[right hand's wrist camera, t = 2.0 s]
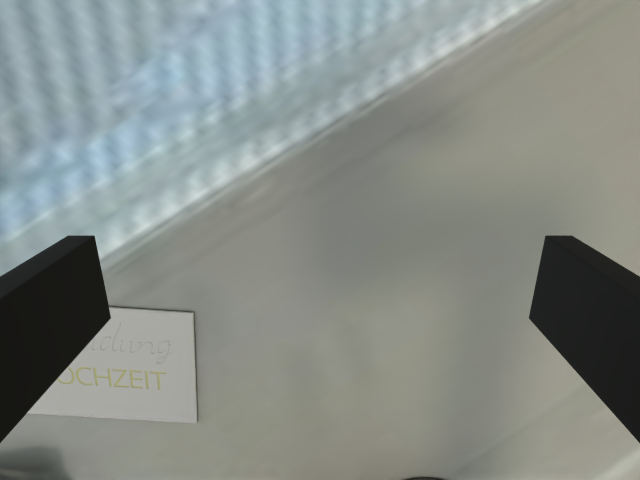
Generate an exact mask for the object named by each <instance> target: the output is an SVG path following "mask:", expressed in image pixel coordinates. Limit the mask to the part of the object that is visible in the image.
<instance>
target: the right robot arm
mask: <svg viewBox="0 0 640 480" xmlns="http://www.w3.org/2000/svg"><path fill="white" fill-rule="evenodd" d="M110 319H111V315H110V310H109V305H108V300H107V295H106V291H105V286H104V281H103V276H102V271H101V266H100V261H99V256H98V251H97V246H96V241H95V236H67V237H65V238H63V239H62V240H60V241H59V242H57V243H55V244H54V245H52V246H50V247H49V248H47V249H45V250H44V251H42V252H40V253H39V254H37V255H35V256H34V257H32V258H30V259H29V260H27V261H26V262H24V263H22V264H21V265H19V266H17V267H16V268H14V269H12V270H11V271H9V272H7V273H6V274H4V275H2V276H1V277H0V443H1V442H2V440H3V439H4V438H5V437H6V436H7V435H8V434H9V433H10V431H11V430H12V429H13V428H14V427H15V426H16V425H17V424H18V422H19V421H20V420H21V419H22V418H23V417H24V416H25V415H26V413H27V412H28V411H29V410H30V409H31V408H32V407H33V405H34V404H35V403H36V402H37V401H38V400H39V399H40V398H41V396H42V395H43V394H44V393H45V392H46V391H47V390H48V389H49V387H50V386H51V385H52V384H53V383H54V382H55V381H56V380H57V378H58V377H59V376H60V375H61V374H62V373H63V372H64V371H65V369H66V368H67V367H68V366H69V365H70V364H71V363H72V362H73V360H74V359H75V358H76V357H77V356H78V355H79V354H80V353H81V351H82V350H83V349H84V348H85V347H86V346H87V345H88V344H89V342H90V341H91V340H92V339H93V338H94V337H95V336H96V335H97V333H98V332H99V331H100V330H101V329H102V328H103V327H104V326H105V324H106V323H107V322H108V321H109V320H110ZM529 319H530V320H531V321H532V322H533V323H534V324H535V326H536V327H537V328H538V329H539V330H540V331H541V332H542V333H543V335H544V336H545V337H546V338H547V339H548V340H549V341H550V342H551V344H552V345H553V346H554V347H555V348H556V349H557V350H558V351H559V353H560V354H561V355H562V356H563V357H564V358H565V359H566V360H567V362H568V363H569V364H570V365H571V366H572V367H573V368H574V369H575V371H576V372H577V373H578V374H579V375H580V376H581V377H582V378H583V380H584V381H585V382H586V383H587V384H588V385H589V386H590V387H591V389H592V390H593V391H594V392H595V393H596V394H597V395H598V396H599V398H600V399H601V400H602V401H603V402H604V403H605V404H606V405H607V407H608V408H609V409H610V410H611V411H612V412H613V413H614V415H615V416H616V417H617V418H618V419H619V420H620V421H621V422H622V424H623V425H624V426H625V427H626V428H627V429H628V430H629V431H630V433H631V434H632V435H633V436H634V437H635V438H636V439H637V440H638V442H639V443H640V277H639V276H638V275H636V274H634V273H633V272H631V271H629V270H628V269H626V268H624V267H623V266H621V265H619V264H618V263H616V262H614V261H613V260H611V259H610V258H608V257H606V256H605V255H603V254H601V253H600V252H598V251H596V250H595V249H593V248H591V247H590V246H588V245H586V244H585V243H583V242H581V241H580V240H578V239H577V238H575V237H573V236H545V241H544V246H543V251H542V256H541V261H540V266H539V271H538V276H537V281H536V286H535V290H534V295H533V300H532V305H531V310H530V315H529ZM412 480H438V479H427V478H423V479H412Z"/></svg>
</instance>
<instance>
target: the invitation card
mask: <svg viewBox="0 0 640 480" xmlns="http://www.w3.org/2000/svg"><path fill="white" fill-rule="evenodd" d="M109 310H110V315H111V319H110V320H109V321H108V322H107V323H106V324H105V326H104V327H103V328H102V329H101V330H100V331H99V332H98V333H97V335H96V336H95V337H94V338H93V339H92V340H91V341H90V342H89V344H88V345H87V346H86V347H85V348H84V349H83V350H82V351H81V353H80V354H79V355H78V356H77V357H76V358H75V359H74V360H73V362H72V363H71V364H70V365H69V366H68V367H67V368H66V369H65V371H64V372H63V373H62V374H61V375H60V376H59V377H58V378H57V380H56V381H55V382H54V383H53V384H52V385H51V386H50V387H49V389H48V390H47V391H46V392H45V393H44V394H43V395H42V396H41V398H40V399H39V400H38V401H37V402H36V403H35V404H34V405H33V407H32V408H31V409H30V410H29V411H28V412H27V413H30V414H47V415H64V416H81V417H98V418H115V419H132V420H149V421H166V422H183V423H197V393H196V365H195V336H194V312H179V311H164V310H148V309H133V308H118V307H109Z"/></svg>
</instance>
